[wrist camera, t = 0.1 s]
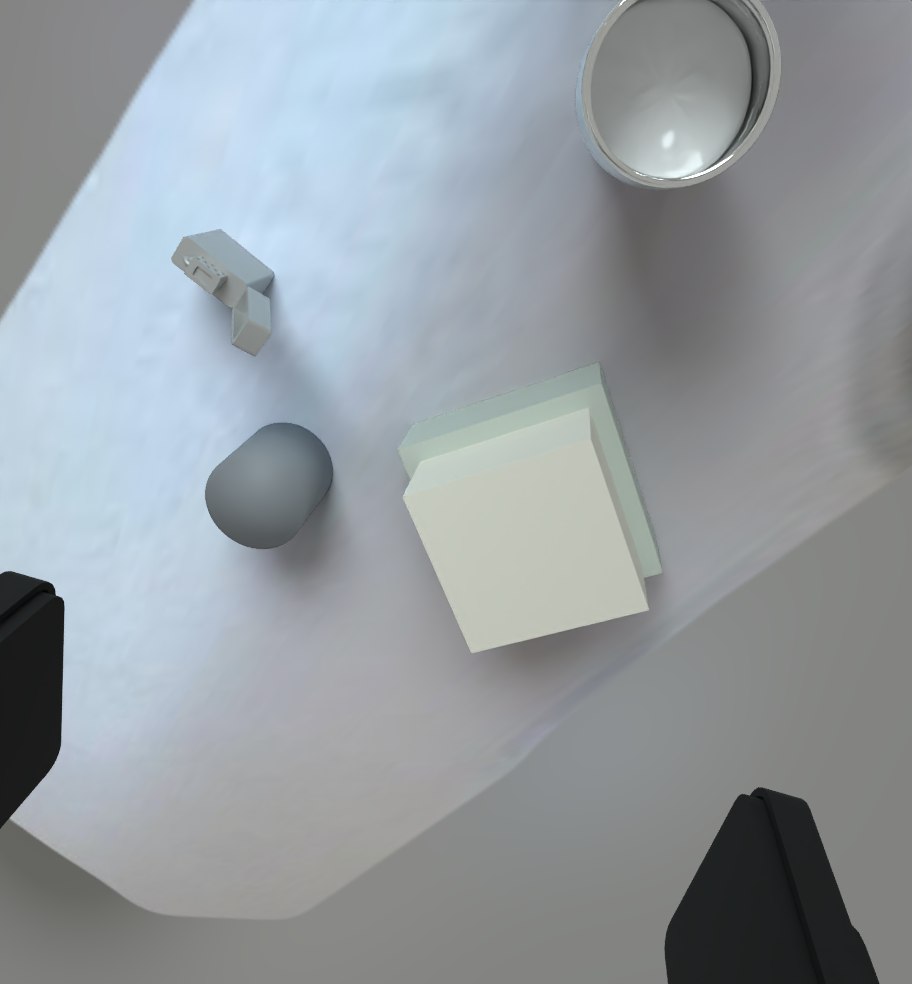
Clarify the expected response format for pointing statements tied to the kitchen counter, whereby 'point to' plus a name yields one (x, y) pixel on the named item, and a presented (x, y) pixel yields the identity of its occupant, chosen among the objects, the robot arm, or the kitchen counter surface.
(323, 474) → the cylinder
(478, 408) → the tower bottom block
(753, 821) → the robot arm
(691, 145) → the beer glass
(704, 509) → the kitchen counter surface
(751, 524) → the kitchen counter surface
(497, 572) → the tower top block
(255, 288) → the lighter
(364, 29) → the kitchen counter surface
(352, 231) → the kitchen counter surface
